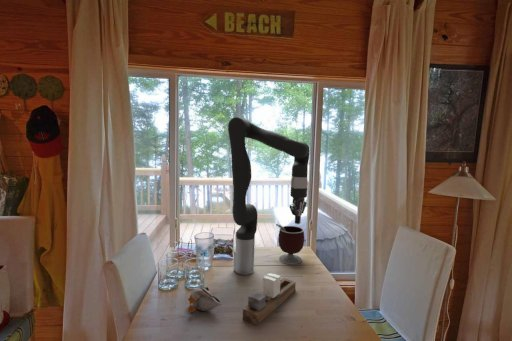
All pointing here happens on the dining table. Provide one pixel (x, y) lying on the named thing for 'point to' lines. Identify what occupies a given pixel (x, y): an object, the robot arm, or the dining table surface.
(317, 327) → the dining table surface
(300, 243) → the mate gourd
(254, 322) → the beam
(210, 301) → the decorative duck model
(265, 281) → the block
